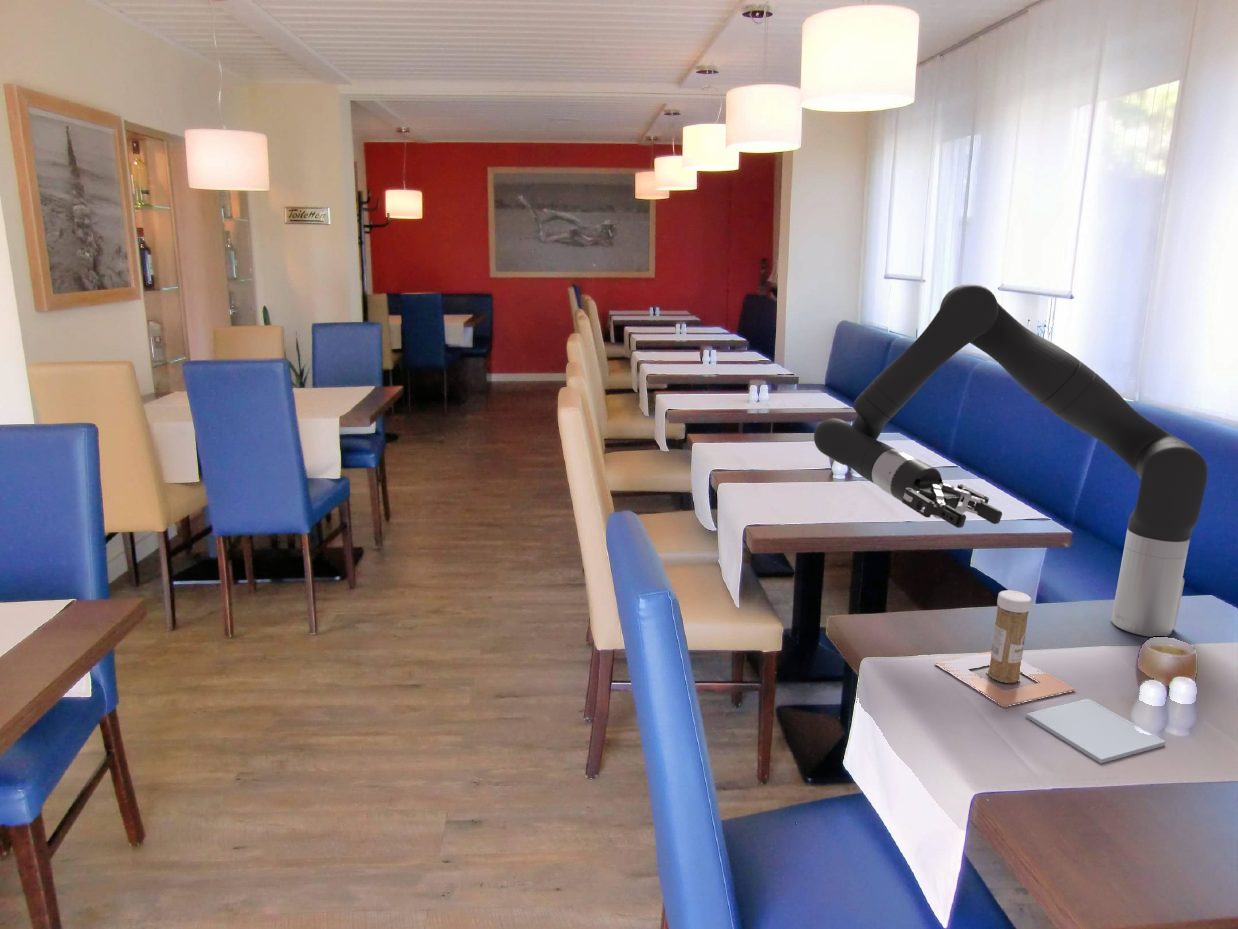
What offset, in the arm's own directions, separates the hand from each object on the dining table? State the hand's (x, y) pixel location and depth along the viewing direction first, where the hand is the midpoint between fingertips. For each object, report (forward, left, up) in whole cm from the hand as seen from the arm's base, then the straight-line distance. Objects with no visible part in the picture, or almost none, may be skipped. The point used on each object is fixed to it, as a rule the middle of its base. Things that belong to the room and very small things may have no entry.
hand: (981, 520), depth 138 cm
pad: (+1, +25, -22) cm, 34 cm away
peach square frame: (+1, +9, -22) cm, 24 cm away
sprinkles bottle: (+1, +9, -22) cm, 24 cm away
